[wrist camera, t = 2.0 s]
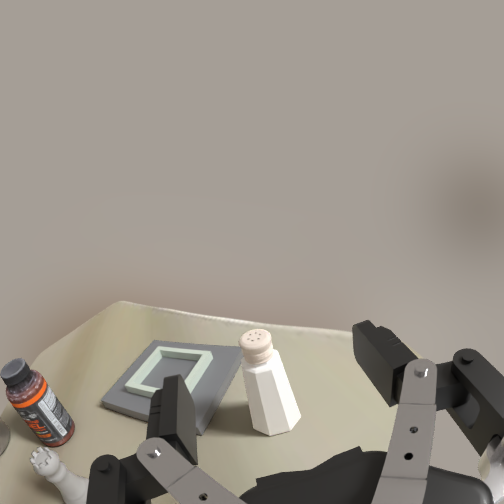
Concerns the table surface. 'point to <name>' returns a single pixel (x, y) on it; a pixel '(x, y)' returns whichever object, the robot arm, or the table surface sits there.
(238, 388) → the table surface
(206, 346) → the baseplate
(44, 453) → the rook chess piece
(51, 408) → the supplement bottle
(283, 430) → the pepper shaker
